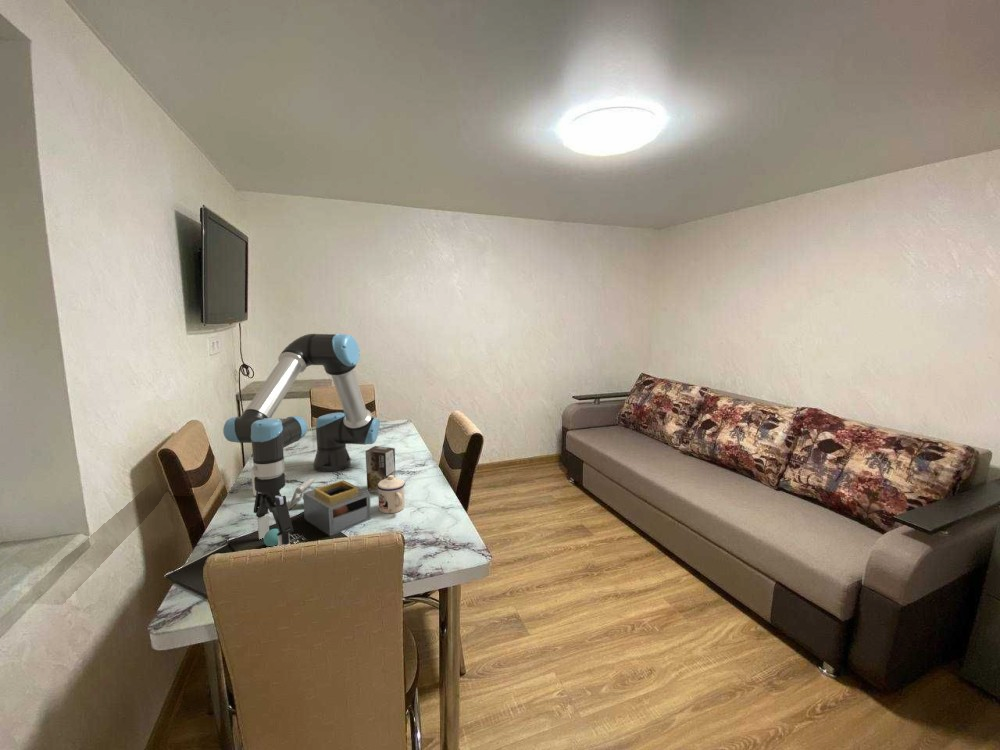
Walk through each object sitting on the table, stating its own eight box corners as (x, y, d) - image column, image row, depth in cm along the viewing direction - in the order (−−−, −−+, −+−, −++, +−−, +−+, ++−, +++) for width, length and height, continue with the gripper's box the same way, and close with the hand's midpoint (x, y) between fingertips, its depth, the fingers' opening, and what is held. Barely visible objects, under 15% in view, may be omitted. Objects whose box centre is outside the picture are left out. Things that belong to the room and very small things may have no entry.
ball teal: (261, 546, 118) (260, 530, 117) (279, 539, 122) (278, 523, 121) (268, 553, 115) (267, 536, 114) (287, 545, 118) (286, 529, 118)
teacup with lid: (373, 507, 143) (372, 474, 142) (398, 500, 149) (397, 469, 147) (388, 520, 134) (387, 486, 132) (413, 512, 140) (413, 479, 138)
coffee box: (396, 488, 159) (395, 447, 157) (386, 495, 153) (385, 453, 151) (376, 485, 162) (375, 445, 160) (366, 491, 156) (364, 450, 154)
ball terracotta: (326, 511, 133) (332, 503, 130) (341, 505, 137) (346, 498, 134) (333, 524, 131) (338, 517, 128) (347, 519, 135) (353, 512, 132)
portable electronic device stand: (296, 500, 148) (295, 477, 147) (317, 500, 148) (316, 478, 147) (283, 511, 140) (281, 487, 138) (306, 511, 139) (304, 488, 138)
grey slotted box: (304, 519, 134) (302, 488, 132) (344, 504, 144) (343, 476, 143) (330, 536, 124) (328, 503, 122) (370, 519, 134) (369, 488, 133)
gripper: (237, 467, 120) (242, 536, 123) (274, 490, 104) (279, 568, 107) (265, 461, 126) (269, 526, 129) (304, 482, 110) (308, 556, 113)
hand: (274, 545), depth 118 cm, fingers open, 13 cm apart
